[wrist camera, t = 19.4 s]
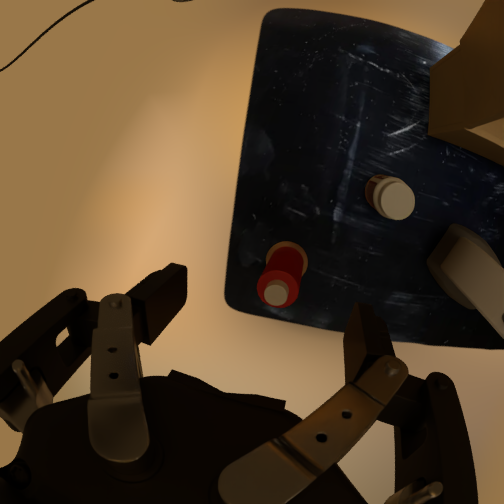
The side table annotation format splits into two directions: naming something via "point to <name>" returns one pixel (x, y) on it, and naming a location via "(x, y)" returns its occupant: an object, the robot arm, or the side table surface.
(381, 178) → the pill bottle
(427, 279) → the side table surface
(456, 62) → the box
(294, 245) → the coaster
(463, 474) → the robot arm
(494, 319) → the alarm clock
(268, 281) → the sauce bottle
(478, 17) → the breadbox lid
